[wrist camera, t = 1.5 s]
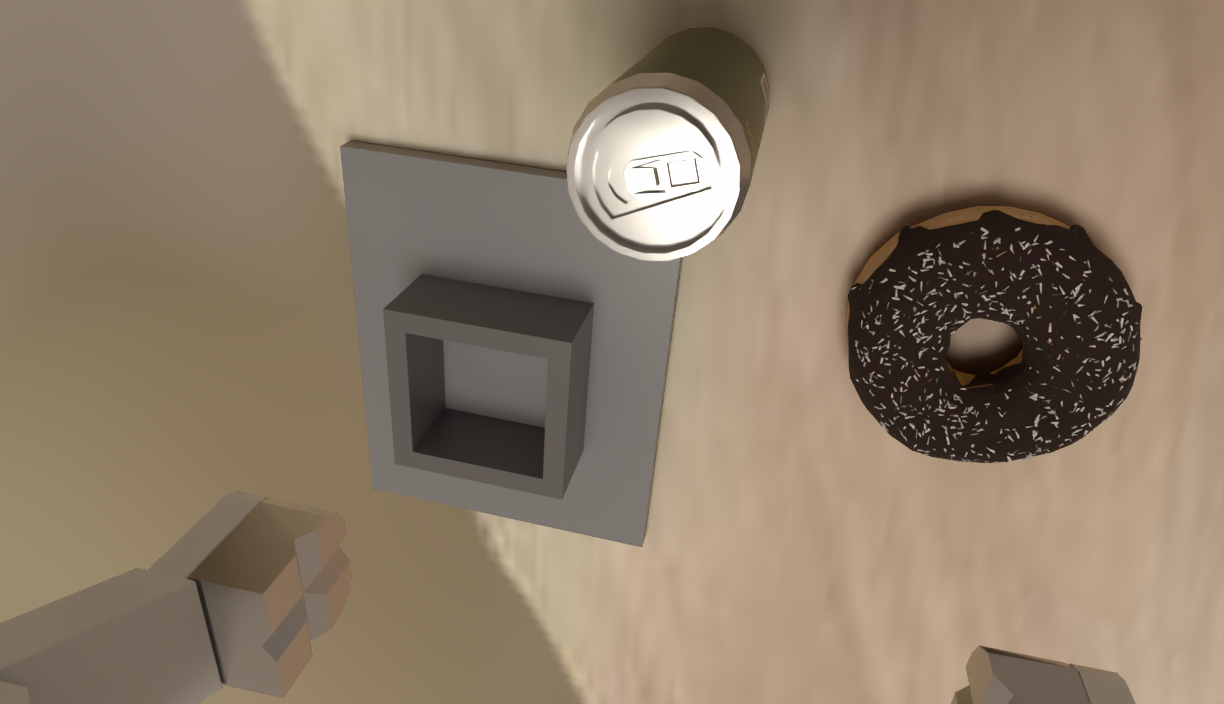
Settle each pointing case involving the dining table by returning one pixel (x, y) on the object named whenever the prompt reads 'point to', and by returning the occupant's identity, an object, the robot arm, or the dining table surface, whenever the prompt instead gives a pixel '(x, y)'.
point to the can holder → (504, 343)
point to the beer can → (670, 146)
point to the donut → (1000, 291)
